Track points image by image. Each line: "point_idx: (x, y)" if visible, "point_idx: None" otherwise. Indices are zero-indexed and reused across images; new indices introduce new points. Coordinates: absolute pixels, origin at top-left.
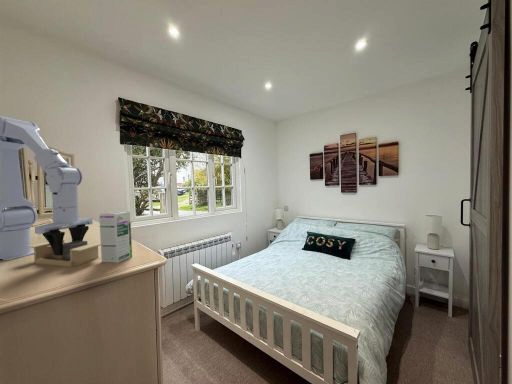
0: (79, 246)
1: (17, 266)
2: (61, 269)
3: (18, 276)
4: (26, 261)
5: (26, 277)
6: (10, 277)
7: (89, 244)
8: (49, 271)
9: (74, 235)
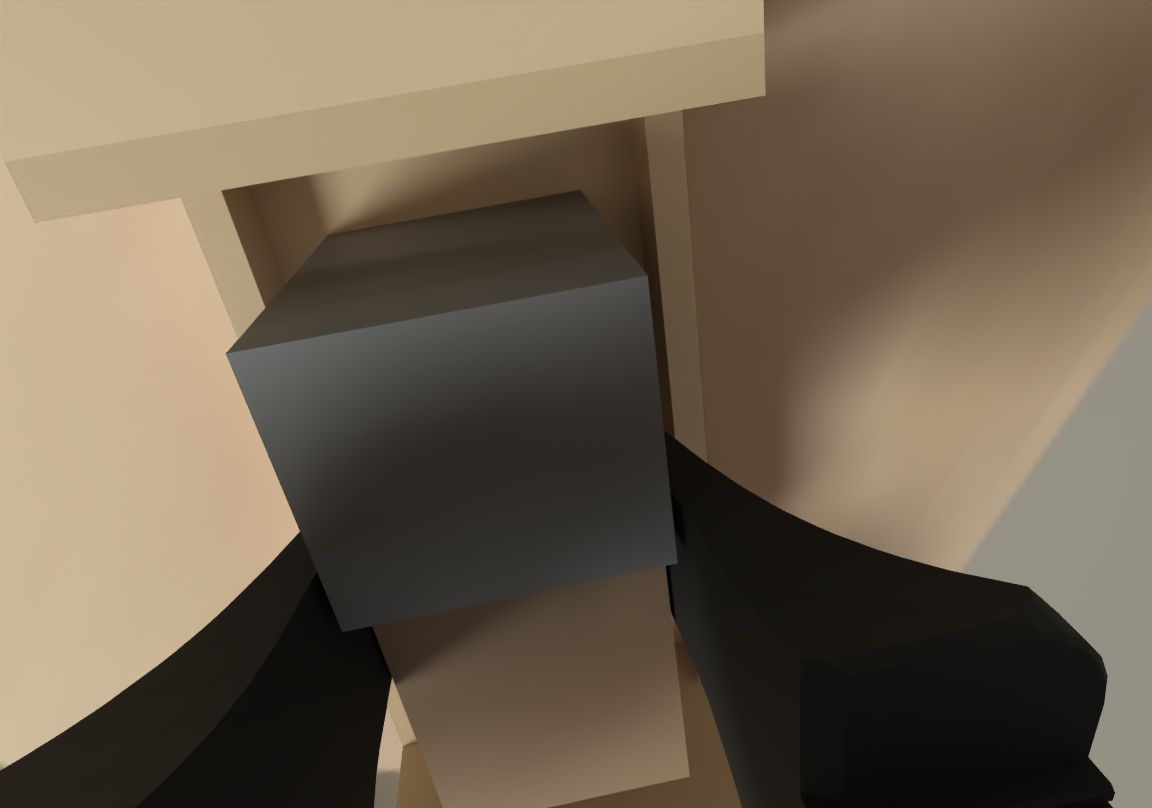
0: (454, 284)
1: None
2: (751, 125)
3: (1012, 358)
4: None
5: (1032, 234)
6: (1040, 399)
7: (269, 130)
8: (841, 202)
9: (337, 795)
